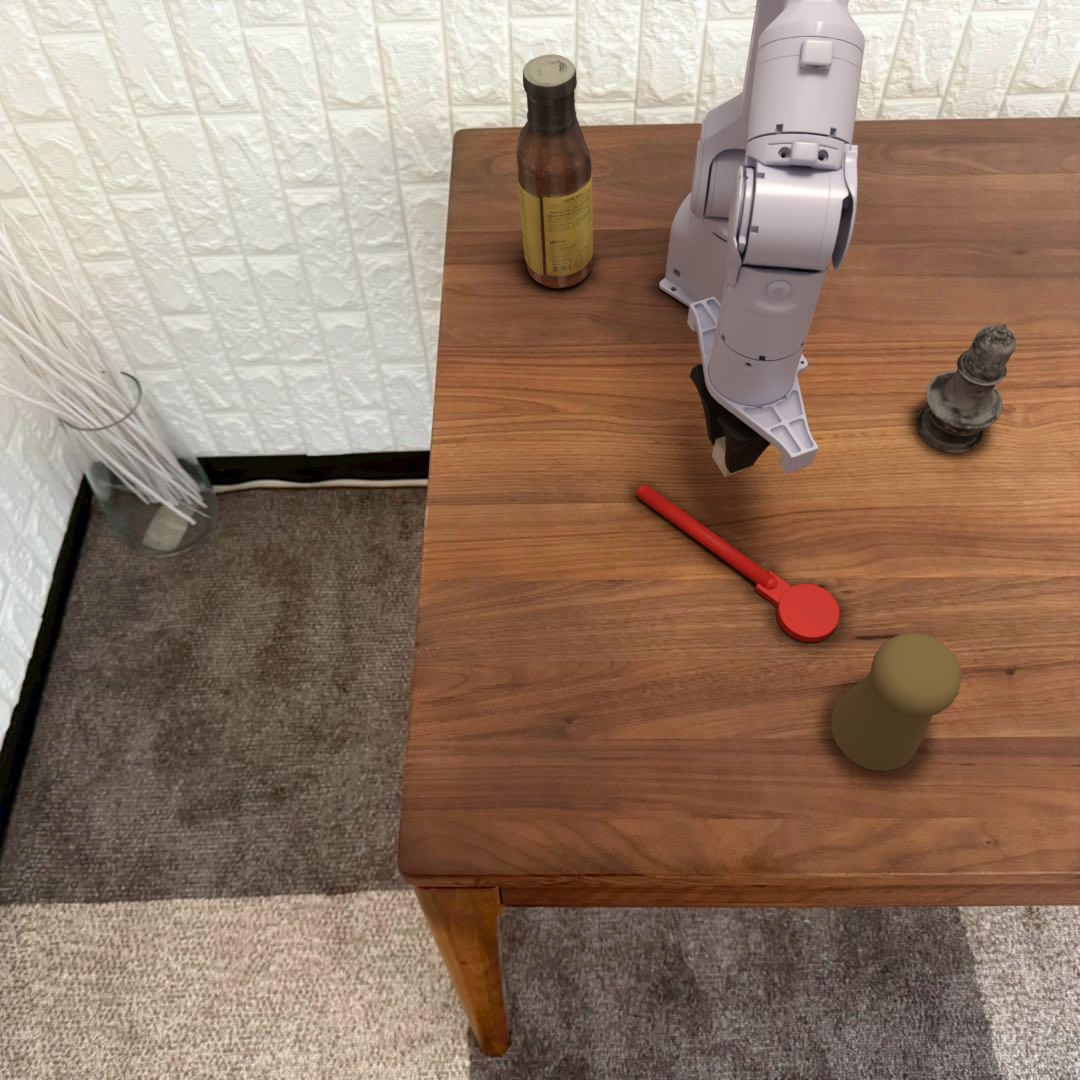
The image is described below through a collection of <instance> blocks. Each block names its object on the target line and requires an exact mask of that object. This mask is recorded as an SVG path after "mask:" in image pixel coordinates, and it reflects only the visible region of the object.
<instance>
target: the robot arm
mask: <svg viewBox="0 0 1080 1080" xmlns="http://www.w3.org/2000/svg"><path fill="white" fill-rule="evenodd" d="M849 2H850V0H756V4H755V10H754V14H753V15H754V16H753V22H752V29H751V34H750V42H749V48H748V54H747V60H746V67H745V73H744V79H743V86H742V91H741V92H740V93H738V95H735V96H734V97H732V98H730V99H728V100H727V101H725V102H723V103H721V104H719V105H717V106H715V107H713V108H712V109H710V110H708V111H707V112H706V114H705V118H703V120H702V121H701V125H700V126H701V127H700V133H699V140H697V143H696V144H697V145H696V150H695V157H694V164H693V172H692V173H693V174H692V181H691V191H690V192H689V193H688V195H687V196H685V198H684V199H683V201H682V202H681V204H680V205H679V207H678V209H677V211H676V213H675V216H674V218H673V221H672V224H671V227H670V233H669V241H668V247H667V248H668V249H667V257H666V266H665V274H664V278H662V279H661V280H660V281H659V283H658V288H659V289H660V291H661V290H662V291H663V292H665V293H666V294H668V295H669V296H671V297H673V298H674V299H676V300H677V301H679V302H680V303H682V304H684V305H685V306H686V307H688V313H687V314H688V315H687V319H686V320H687V322H686V325H688V327H689V329H691V331H692V332H696V335H697V340H698V345H699V352H700V358H701V363H699V364H696V365H694V367H692V368H691V370H690V374H689V378H690V381H691V382H692V383H693V385H694V387H695V388H696V390H697V393H698V395H699V398H700V401H701V405H702V409H703V414H704V420H705V426H706V431H707V433H706V434H707V437H708V440H709V442H710V444H711V445H712V446H713V447H714V445H715V441H716V439H718V438H721V437H724V436H725V439H726V450H725V465H726V467H727V469H728V471H729V472H730V473H734V472H737V471H739V470H742V469H745V468H748V467H750V468H751V467H753V466H754V465H755V463H756V462H757V461H758V460H759V458H760V457H761V456H762V455H763V453H764V452H765V451H766V450H767V448H768V447H769V446H771V445H772V446H774V448H776V449H777V450H778V451H779V452H780V454H781V457H780V461H779V465H780V467H781V468H782V470H783V472H784V473H785V474H787V475H788V474H791V473H793V472H797V471H800V470H802V469H805V468H807V467H810V466H813V464H814V461H815V459H816V456H817V453H818V451H819V446H818V444H817V443H816V441H815V439H814V437H813V435H812V433H811V430H810V426H809V423H808V418H807V414H806V409H805V405H804V400H803V395H802V391H801V387H800V383H799V377H798V376H800V375H803V374H804V373H805V372H806V371H807V368H808V366H809V361H808V360H807V359H806V357H805V356H804V354H803V351H804V348H805V345H806V342H807V338H808V335H809V333H810V332H809V331H810V329H811V325H812V322H813V320H814V319H813V318H814V316H815V312H816V309H817V306H818V302H819V299H820V295H821V292H822V290H823V286H824V282H825V279H826V276H827V272H828V270H829V266H830V262H832V267H833V269H834V270H835V271H839V270H840V268H841V267H842V265H843V263H844V262H845V259H846V256H847V253H848V249H849V247H850V243H851V242H852V241H851V240H852V236H853V233H854V228H855V223H856V217H857V208H858V193H859V191H858V189H859V188H858V156H859V151H858V149H859V145H858V144H853V139H854V133H855V132H854V131H855V124H856V117H857V116H856V115H857V107H858V100H859V93H860V85H861V79H862V78H861V77H862V69H863V62H864V53H865V48H866V47H865V46H866V38H865V35H864V33H863V31H862V29H861V28H860V27H859V25H858V24H857V23H856V21H855V20H854V18H853V17H852V15H851V13H850V12H849V10H848V6H849Z"/></svg>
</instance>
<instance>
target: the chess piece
mask: <svg viewBox="0 0 1080 1080" xmlns="http://www.w3.org/2000/svg"><path fill="white" fill-rule="evenodd" d="M1016 345H1017V340H1016V337H1015V335H1014V333H1013V332H1012V331H1011V330H1009V327H1008V326H1007V324H1005V323H1002V324H999V325H988V326H985V327H982V328H980V330H979V331H977V333H976V334H975V336H974V339H973V340H972V343H971V344H970V346H969V348H968V350H966V351H964V352H962V353H961V354H960V355H959V356H958V358H957V360H956V368H957V369H956V370H950V371H945V372H942V373H939V374H937V375H936V376H935V377H933V378H932V379H931V380H930V382H929V383H928V385H927V386H926V391H925V399H926V405H925V406H923V407H922V408H921V409H920V411H919V412H918V413H917V416H916V421H915V422H916V429H917V431H918V434H919V435H920V436H921V438H922V439H923V441H925V442H926V443H927V444H929V445H930V446H931V447H933V448H935V449H937V450H939V451H942V452H944V453H949V454H951V453H952V454H961V453H966V452H970V451H972V450H973V449H974V448H976V447H977V446H979V444H980V442H981V441H982V439H983V436H984V430H985V429H986V428H988V427H991V426H992V425H994V423H996V422H997V421H998V420H999V419H1000V417H1001V415H1002V413H1003V407H1004V404H1003V398H1002V396H1001V393H1000V392H999V390H998V389H997V388H996V385H999V384H1000V383H1001V382H1003V381H1004V379H1005V378H1006V376H1007V373H1008V371H1007V369H1008V368H1007V366H1006V365H1008V362H1009V360H1010V358H1011V357H1012V355H1013V353H1014V352H1015V350H1016V347H1017V346H1016Z"/></svg>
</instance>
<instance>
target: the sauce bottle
mask: <svg viewBox="0 0 1080 1080" xmlns="http://www.w3.org/2000/svg"><path fill="white" fill-rule="evenodd" d="M577 85H578V80H577V69H576V66H575V64H574V63H573V62H572V61H571V60H570V59H569V58H567V57H565V56H563V55H561V54H554V53H550V54H543V55H539V56H537V57H534V58H531V59H530V60H528V62H527V63H525V65H524V67H523V69H522V87H523V90H524V92H525V93H526V104H527V105H526V107H527V110H526V111H527V112H526V119H527V121H526V123H525V124H524V126H523V127H522V129H521V130H520V132H519V136H518V139H517V146H516V151H515V152H516V162H517V163H516V164H517V176H516V177H517V189H518V198H519V199H518V201H519V211H520V221H521V234H522V244H523V245H522V247H523V256H524V260H525V262H526V267H527V272H528V275H529V277H531V278H532V279H533V280H534V281H536V282H537V283H539V284H541V285H542V286H544V287H547V288H553V289H563V288H571V287H573V286H576V285H577V284H579V283H582V281H583V280H585V279H586V278H587V277H588V274H589V273H590V272H591V269H592V266H593V263H592V262H593V260H592V259H593V255H594V215H593V214H594V213H593V212H594V211H593V210H594V209H593V205H594V204H593V162H592V156H591V152H590V150H589V148H588V146H587V143H586V140H585V137H584V135H583V132H582V129H581V126H580V123H579V120H578V117H577V111H576V99H575V97H576V96H575V90H576V88H577Z"/></svg>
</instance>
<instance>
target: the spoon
mask: <svg viewBox="0 0 1080 1080" xmlns="http://www.w3.org/2000/svg"><path fill="white" fill-rule="evenodd" d="M636 497H637V498H638V499H639V500H640V501H641V502H643V503H645V504H646V505H647V506H649V507H650V508H651V509H653V510H654V511H656V512H657V513H658V514H659V515H661V516H663V517H664V518H665V519H667V520H668V521H670V522H671V523H672V524H673V525H675V526H676V527H677V528H679V529H680V530H682V531H683V532H684V533H686V534H687V535H689V536H690V537H691V538H692V539H694V540H695V541H696V542H699V544H701V545H702V546H703V547H705V548H706V549H707V550H709V551H710V552H711V553H713V554H715V555H716V556H717V557H719V558H720V559H721V560H722V561H724V562H725V563H726V564H728V565H729V566H731V567H732V568H734V569H735V570H736V571H738V572H739V573H741V575H743V576H744V577H746V578H747V579H749V580H750V581H752V582H753V583H754V584H756V585H755V588H754V591H755V592H756V593H758V594H759V595H761V596H762V598H763V597H764V598H765V600H767V601H769V602H770V603H771V604H773V605H774V606H775V607H776V619H777V621H778V624H779V626H780V627H781V629H782V630H783V631H784V632H785V633H786V634H787V635H789V636H790V637H791V638H793V639H795V640H797V641H800V642H803V643H817V642H821V641H824V640H825V639H827V638H829V637H830V636H831V635H832V634H833V633H834V632H835V630H836V628H837V626H838V624H839V621H840V607H839V604H838V602H837V600H836V599H835V598H834V596H833V595H832V594H831V593H830V592H829V591H827V590H826V589H825V588H823V587H821V586H820V585H816V584H812V583H798V584H796V585H795V584H794V585H793V586H792V585H791V584H790V583H788V582H786V581H785V579H783V578H781V576H778V575H777V574H776V573H774V572H772V571H771V570H769V571H767V570H765V569H764V568H762V567H761V566H760V565H758V564H757V563H755V562H754V561H753V560H752V559H750V558H749V557H748V556H746V555H744V554H743V553H741V551H739V550H737V548H735V547H734V546H732V545H731V544H730V543H728V542H727V541H726V540H724V539H723V538H721V537H719V536H718V535H717V534H716V533H715V532H713V531H711V530H710V529H708V528H707V527H706V526H704V525H703V524H702V523H700V522H699V521H697V520H696V519H695V518H693V517H692V516H690V515H689V514H688V513H687V512H685V511H683V510H682V509H681V508H679V506H677V505H676V504H674V503H672V502H671V501H670V500H668V499H667V498H666V497H664V496H663V495H661V494H660V493H659V492H658V491H656V490H655V489H653V487H651V486H649V485H647V484H641V485H640V486H638V488H637V489H636Z"/></svg>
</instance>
